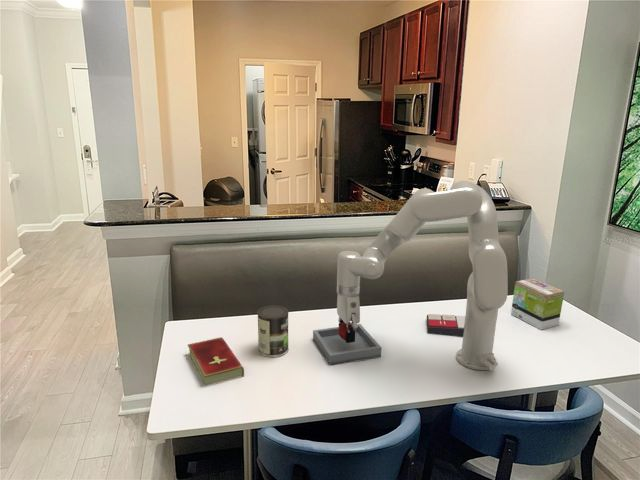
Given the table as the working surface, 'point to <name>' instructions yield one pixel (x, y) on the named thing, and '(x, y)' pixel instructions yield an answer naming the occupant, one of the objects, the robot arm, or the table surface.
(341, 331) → the onion
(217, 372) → the hardcover book
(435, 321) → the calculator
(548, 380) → the table surface
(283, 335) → the coffee can
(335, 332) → the tray
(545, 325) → the tea box
